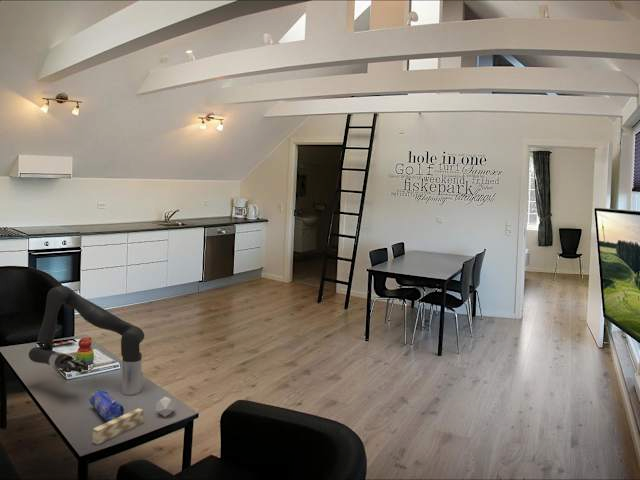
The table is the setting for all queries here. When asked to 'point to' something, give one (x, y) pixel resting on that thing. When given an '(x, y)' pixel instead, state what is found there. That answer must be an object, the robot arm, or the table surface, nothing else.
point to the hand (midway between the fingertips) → (84, 369)
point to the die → (165, 406)
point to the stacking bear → (85, 351)
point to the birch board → (117, 426)
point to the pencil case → (106, 405)
